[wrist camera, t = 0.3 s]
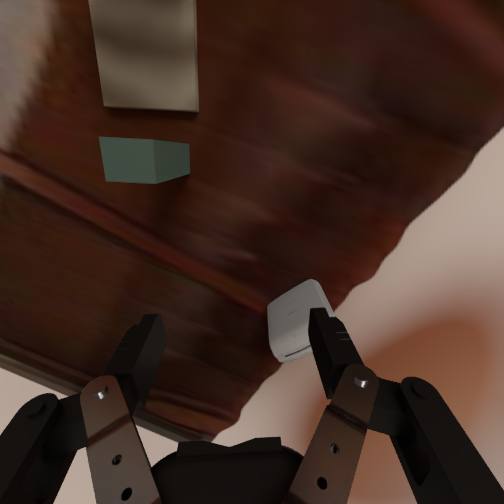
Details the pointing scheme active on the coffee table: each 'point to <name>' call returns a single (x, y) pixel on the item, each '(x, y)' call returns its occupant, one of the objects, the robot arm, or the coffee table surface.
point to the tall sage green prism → (143, 160)
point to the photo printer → (294, 320)
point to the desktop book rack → (147, 53)
